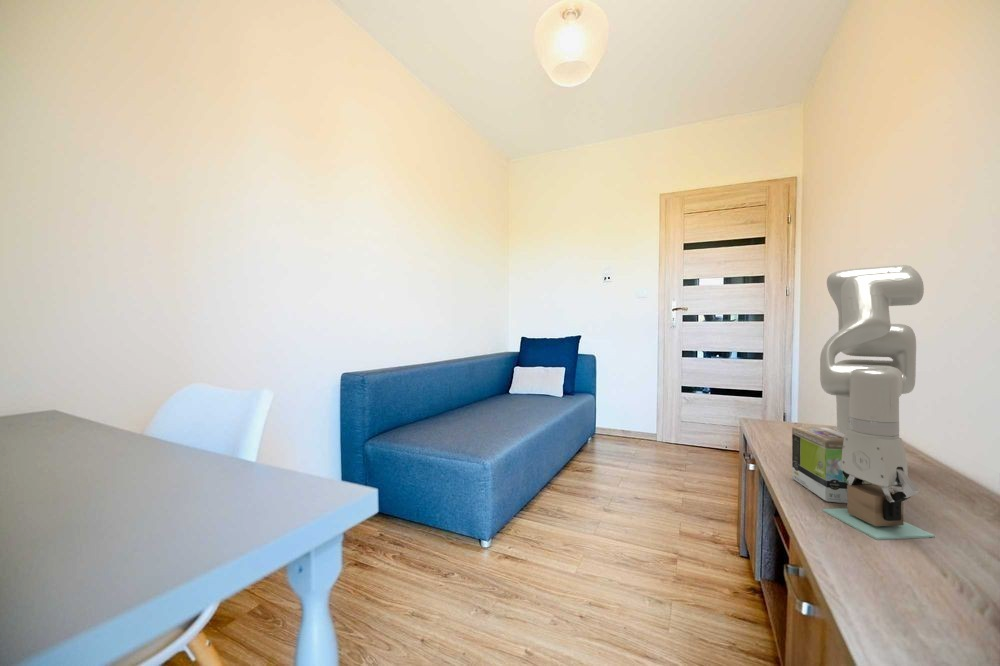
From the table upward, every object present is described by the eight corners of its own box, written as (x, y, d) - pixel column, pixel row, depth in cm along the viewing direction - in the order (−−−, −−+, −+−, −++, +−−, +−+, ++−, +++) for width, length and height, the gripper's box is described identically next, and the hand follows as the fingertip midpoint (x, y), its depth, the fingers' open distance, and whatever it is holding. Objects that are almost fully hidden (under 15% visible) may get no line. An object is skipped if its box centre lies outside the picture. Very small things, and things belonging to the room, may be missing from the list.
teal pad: (872, 509, 87) (872, 507, 87) (934, 537, 75) (934, 535, 75) (822, 510, 87) (822, 509, 87) (876, 539, 75) (876, 537, 75)
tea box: (874, 506, 89) (874, 442, 89) (825, 502, 91) (824, 440, 91) (832, 481, 104) (832, 426, 104) (790, 478, 106) (790, 425, 106)
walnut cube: (873, 511, 84) (873, 484, 84) (903, 525, 78) (903, 495, 78) (847, 512, 84) (847, 485, 84) (875, 526, 78) (874, 496, 78)
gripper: (820, 418, 90) (821, 494, 90) (901, 439, 72) (902, 534, 72) (851, 417, 90) (852, 493, 90) (939, 438, 73) (939, 532, 73)
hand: (874, 510), depth 81 cm, fingers open, 6 cm apart
